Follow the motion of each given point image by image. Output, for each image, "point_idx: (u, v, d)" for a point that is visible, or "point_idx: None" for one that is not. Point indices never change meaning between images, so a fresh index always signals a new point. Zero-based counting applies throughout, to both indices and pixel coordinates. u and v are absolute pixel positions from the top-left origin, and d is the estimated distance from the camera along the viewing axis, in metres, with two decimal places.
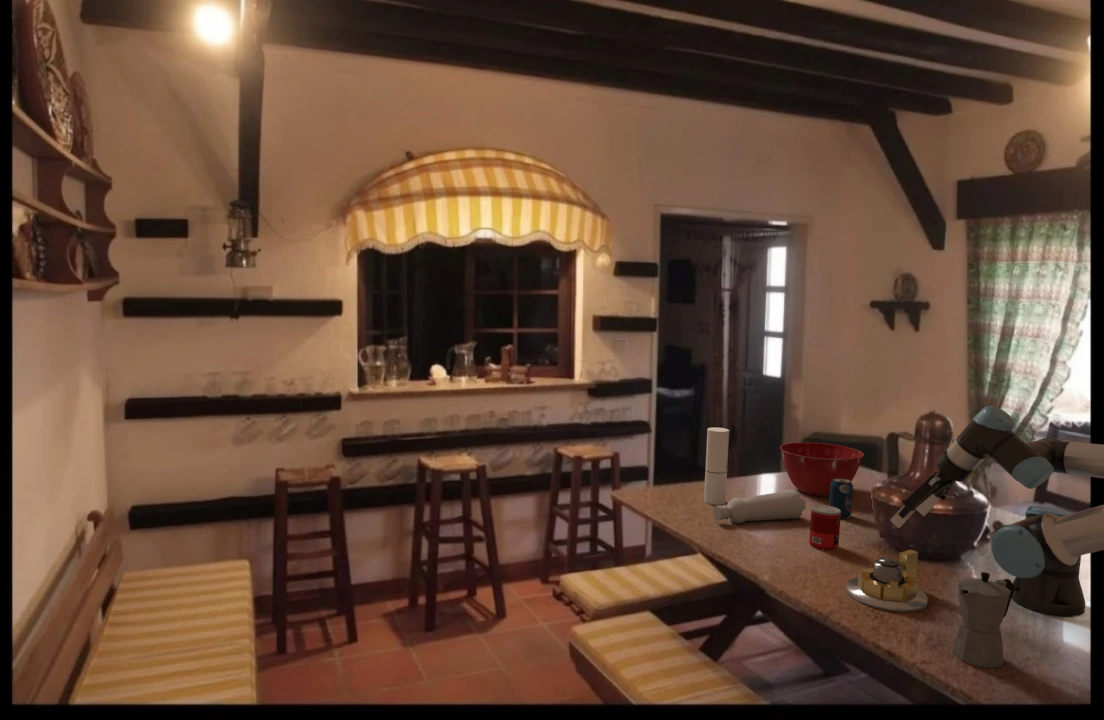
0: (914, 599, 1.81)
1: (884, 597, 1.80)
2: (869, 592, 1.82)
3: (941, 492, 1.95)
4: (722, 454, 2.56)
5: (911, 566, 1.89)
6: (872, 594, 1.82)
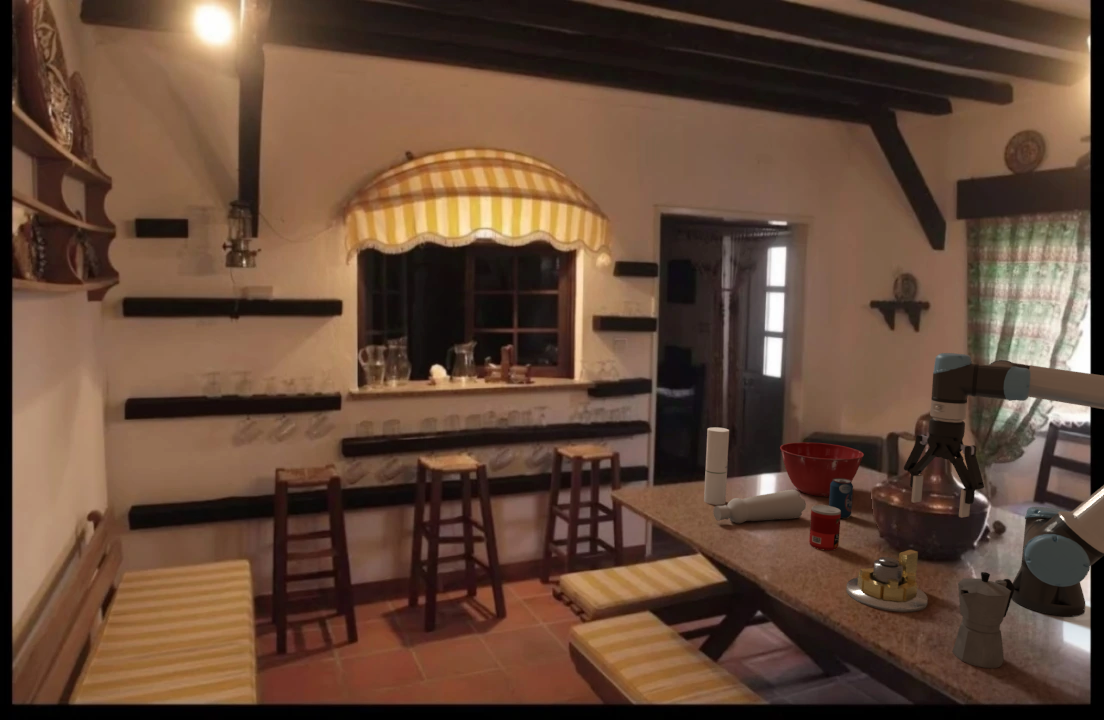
0: (914, 599, 1.81)
1: (884, 597, 1.80)
2: (869, 592, 1.82)
3: (926, 466, 1.86)
4: (722, 454, 2.56)
5: (911, 566, 1.89)
6: (872, 594, 1.82)
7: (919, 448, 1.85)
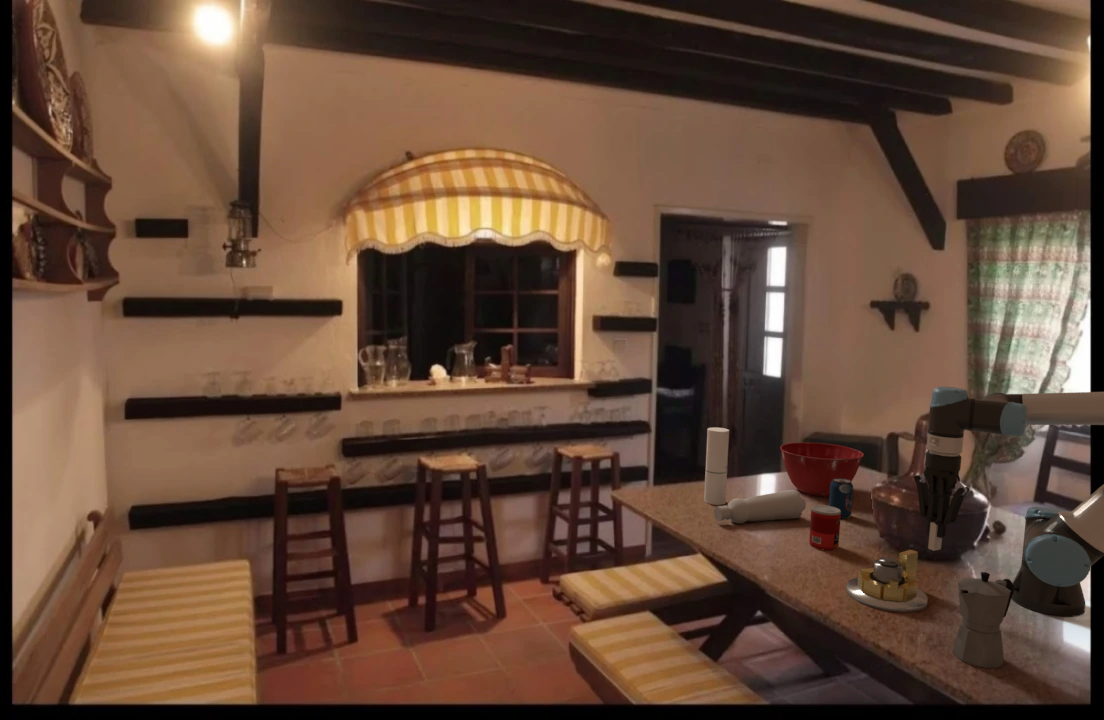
0: (914, 599, 1.81)
1: (884, 597, 1.80)
2: (869, 592, 1.82)
3: (938, 507, 1.83)
4: (722, 454, 2.56)
5: (911, 566, 1.89)
6: (872, 594, 1.82)
7: (922, 487, 1.85)
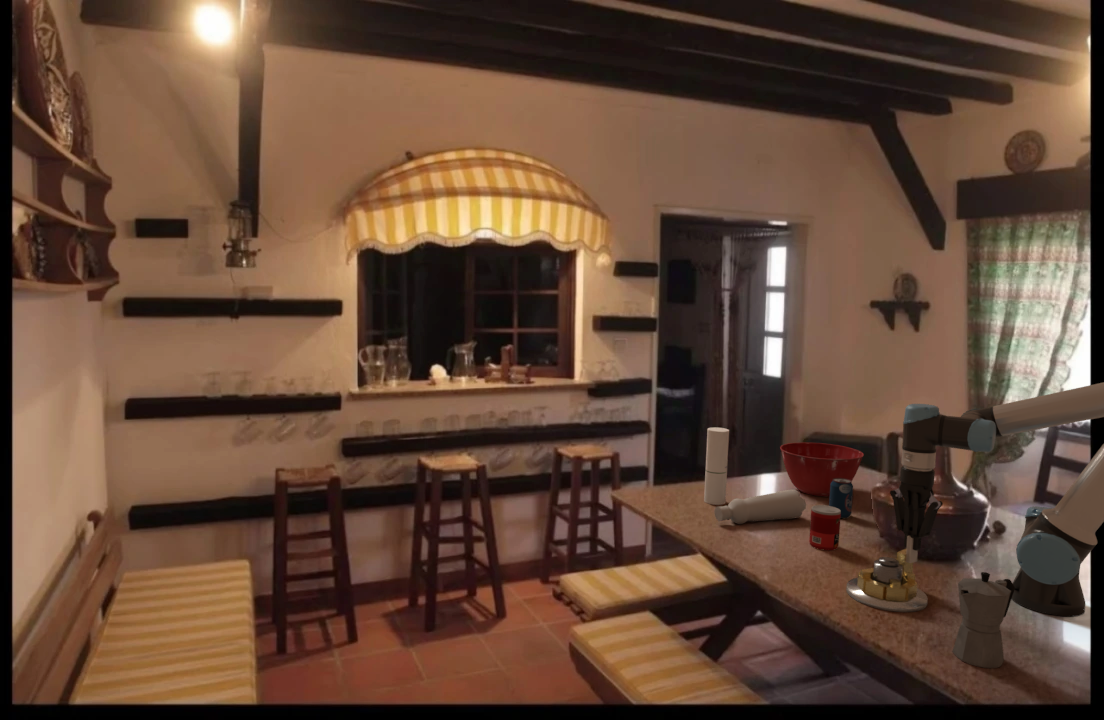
0: (914, 599, 1.81)
1: (887, 598, 1.79)
2: (871, 593, 1.82)
3: None
4: (722, 454, 2.56)
5: (908, 565, 1.90)
6: (874, 595, 1.81)
7: (898, 501, 1.90)
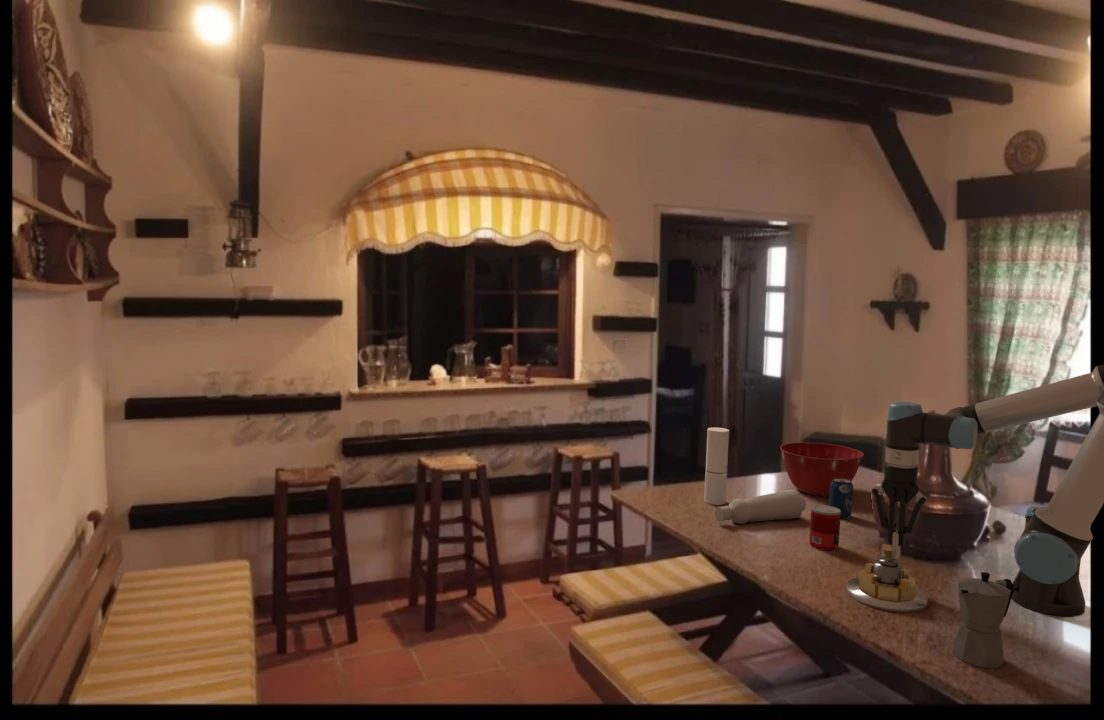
0: (914, 599, 1.81)
1: (901, 599, 1.79)
2: (885, 597, 1.80)
3: (896, 516, 1.91)
4: (722, 454, 2.56)
5: None
6: (888, 598, 1.79)
7: (881, 499, 1.92)
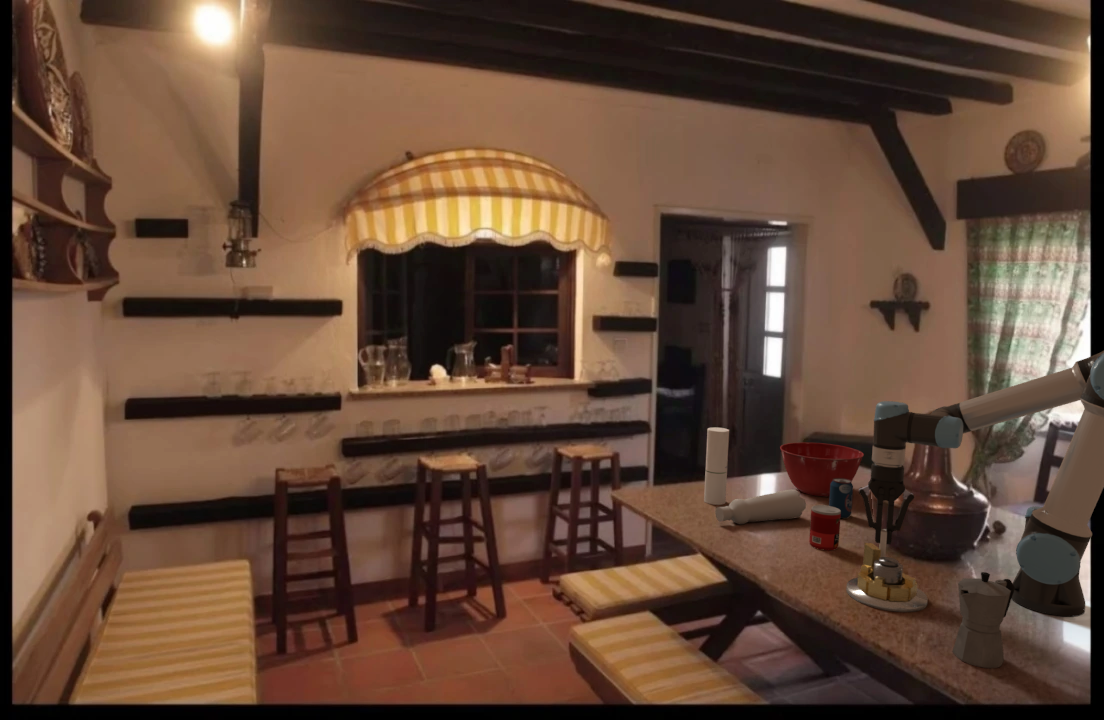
0: (914, 599, 1.81)
1: (910, 597, 1.80)
2: (896, 598, 1.79)
3: None
4: (722, 454, 2.56)
5: None
6: (900, 599, 1.79)
7: (868, 499, 1.92)
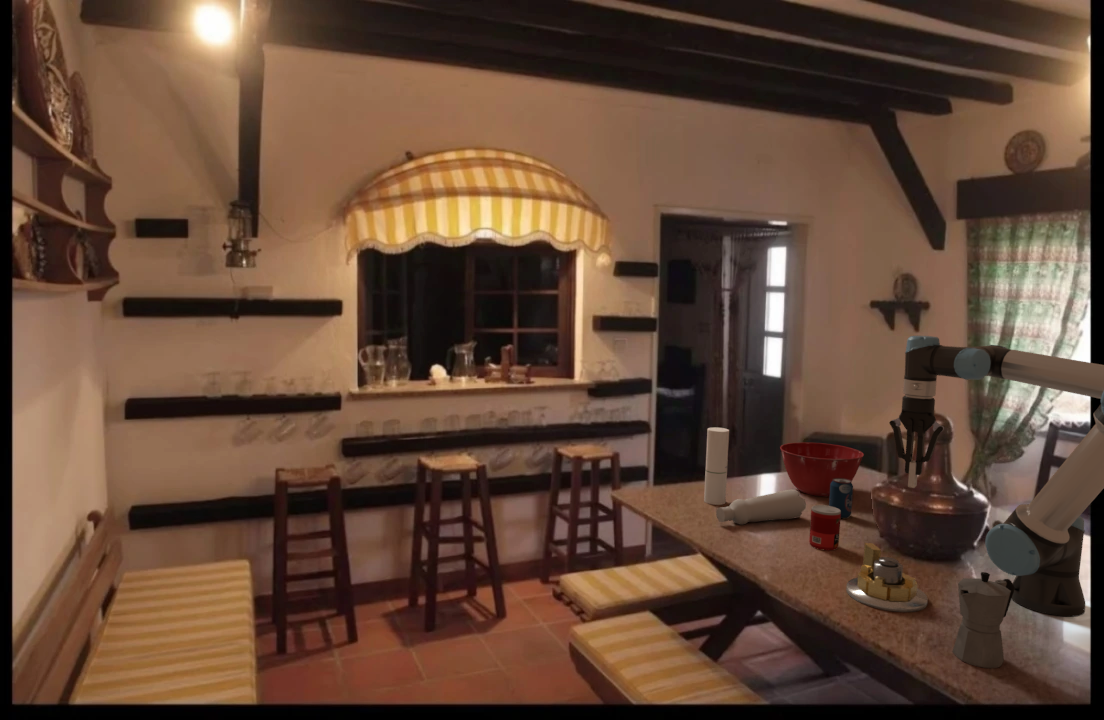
0: (914, 599, 1.81)
1: (910, 597, 1.80)
2: (896, 598, 1.79)
3: (912, 447, 1.98)
4: (722, 454, 2.56)
5: None
6: (900, 599, 1.79)
7: (898, 430, 1.98)
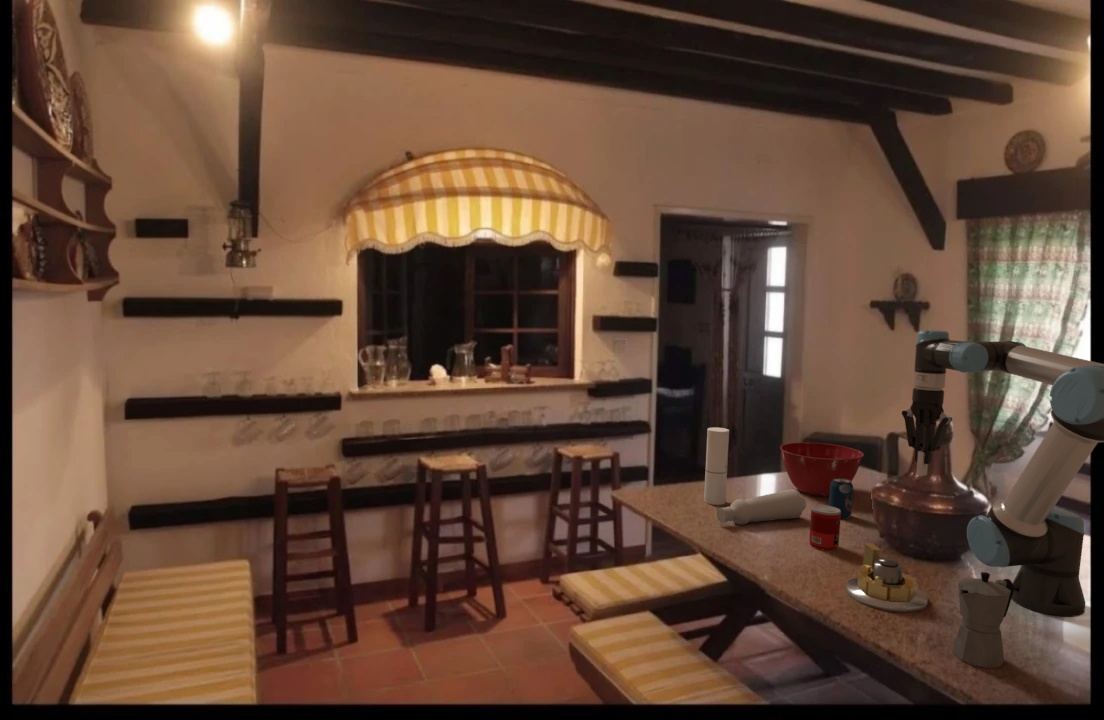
0: (914, 599, 1.81)
1: (910, 597, 1.80)
2: (896, 598, 1.79)
3: (923, 437, 2.06)
4: (722, 454, 2.56)
5: None
6: (900, 599, 1.79)
7: (909, 420, 2.07)
